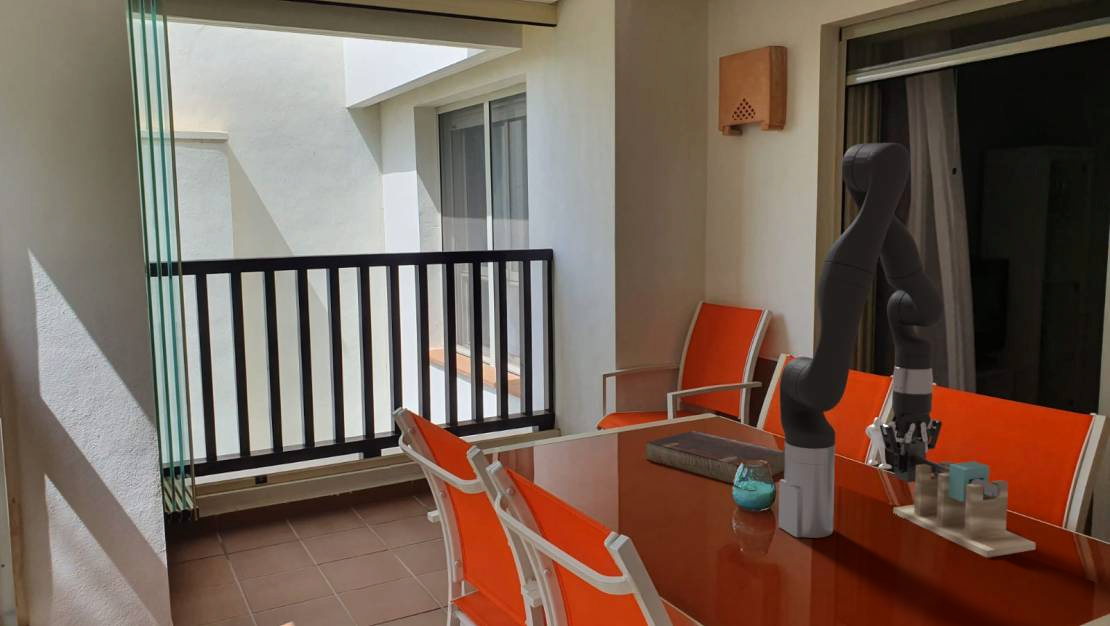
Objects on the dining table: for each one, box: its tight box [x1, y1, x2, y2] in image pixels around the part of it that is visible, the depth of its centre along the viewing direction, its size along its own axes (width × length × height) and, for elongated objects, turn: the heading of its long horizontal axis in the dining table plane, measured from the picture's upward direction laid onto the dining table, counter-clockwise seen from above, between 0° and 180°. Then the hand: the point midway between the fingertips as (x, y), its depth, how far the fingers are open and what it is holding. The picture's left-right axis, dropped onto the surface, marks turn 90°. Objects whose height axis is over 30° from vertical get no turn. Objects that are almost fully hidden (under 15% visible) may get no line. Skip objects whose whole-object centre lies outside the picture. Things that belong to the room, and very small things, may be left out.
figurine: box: [865, 417, 892, 470], centre depth 204 cm, size 7×4×12 cm, turn 24°
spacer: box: [949, 460, 990, 502], centre depth 160 cm, size 4×6×6 cm, turn 108°
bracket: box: [892, 460, 1036, 558], centre depth 162 cm, size 24×11×11 cm, turn 18°
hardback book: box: [645, 430, 785, 484], centre depth 208 cm, size 29×19×5 cm, turn 42°
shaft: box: [894, 437, 1001, 498], centre depth 166 cm, size 24×4×8 cm, turn 18°
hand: (909, 470), depth 175 cm, fingers closed on shaft, 4 cm apart
